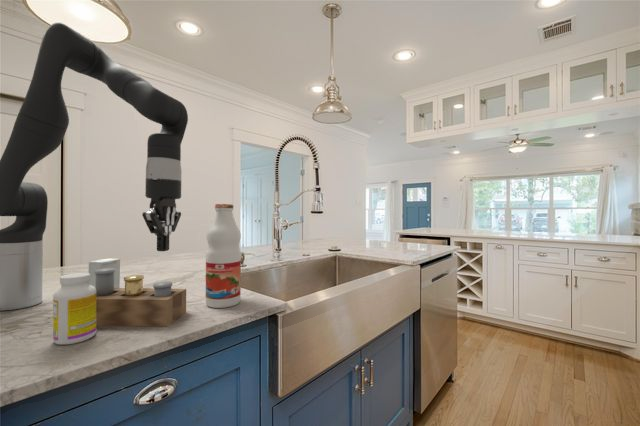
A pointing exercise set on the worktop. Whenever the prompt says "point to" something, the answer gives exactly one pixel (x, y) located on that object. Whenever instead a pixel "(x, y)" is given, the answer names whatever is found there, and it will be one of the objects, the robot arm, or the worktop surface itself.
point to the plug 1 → (104, 281)
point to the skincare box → (102, 265)
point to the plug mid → (133, 285)
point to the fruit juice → (223, 260)
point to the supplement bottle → (74, 309)
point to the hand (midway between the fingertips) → (162, 250)
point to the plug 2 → (162, 289)
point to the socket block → (140, 308)
